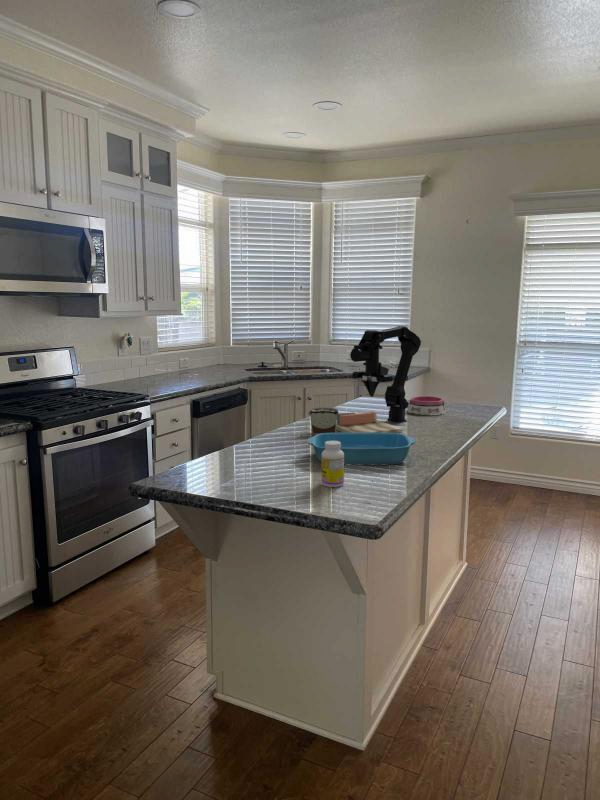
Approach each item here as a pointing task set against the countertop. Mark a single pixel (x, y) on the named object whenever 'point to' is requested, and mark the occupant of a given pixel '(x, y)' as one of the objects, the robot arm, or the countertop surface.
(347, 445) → the casserole dish
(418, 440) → the countertop surface
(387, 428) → the latch board
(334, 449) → the supplement bottle
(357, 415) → the latch bar
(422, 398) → the dog bowl
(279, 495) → the countertop surface
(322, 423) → the food container
